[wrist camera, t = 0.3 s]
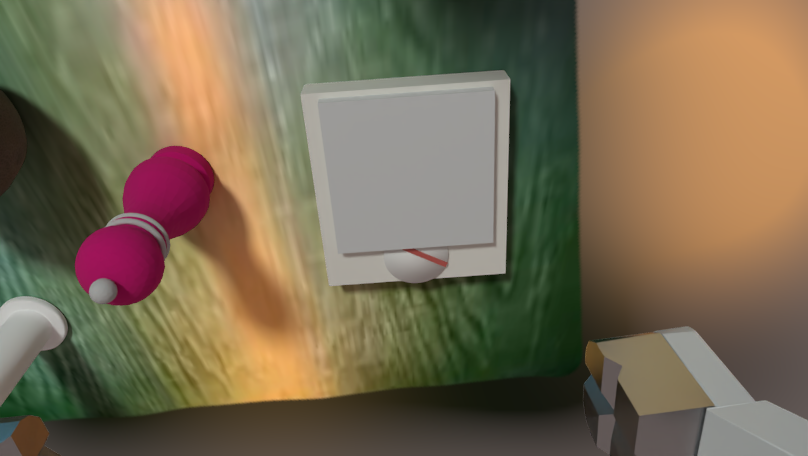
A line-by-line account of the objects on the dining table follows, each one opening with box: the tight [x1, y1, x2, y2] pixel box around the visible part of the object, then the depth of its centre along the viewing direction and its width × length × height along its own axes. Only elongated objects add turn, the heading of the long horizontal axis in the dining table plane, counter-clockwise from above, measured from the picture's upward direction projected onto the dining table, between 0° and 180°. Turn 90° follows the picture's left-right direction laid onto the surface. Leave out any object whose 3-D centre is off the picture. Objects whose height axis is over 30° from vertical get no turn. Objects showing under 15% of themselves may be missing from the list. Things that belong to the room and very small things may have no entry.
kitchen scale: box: [301, 70, 510, 286], centre depth 58 cm, size 20×18×4 cm
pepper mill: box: [75, 146, 214, 305], centre depth 50 cm, size 7×7×20 cm
